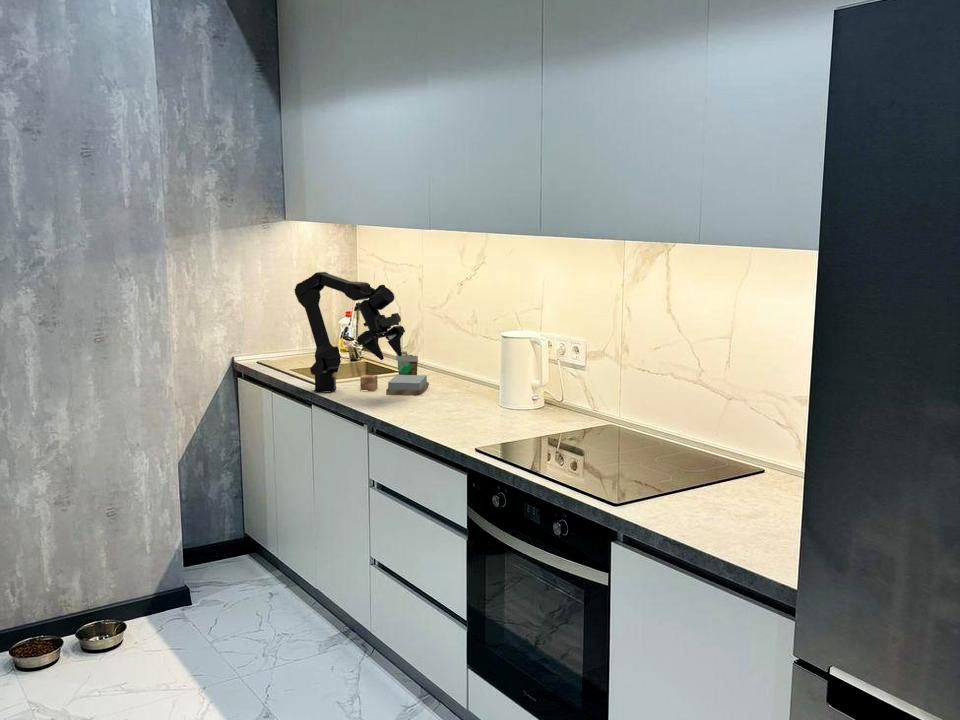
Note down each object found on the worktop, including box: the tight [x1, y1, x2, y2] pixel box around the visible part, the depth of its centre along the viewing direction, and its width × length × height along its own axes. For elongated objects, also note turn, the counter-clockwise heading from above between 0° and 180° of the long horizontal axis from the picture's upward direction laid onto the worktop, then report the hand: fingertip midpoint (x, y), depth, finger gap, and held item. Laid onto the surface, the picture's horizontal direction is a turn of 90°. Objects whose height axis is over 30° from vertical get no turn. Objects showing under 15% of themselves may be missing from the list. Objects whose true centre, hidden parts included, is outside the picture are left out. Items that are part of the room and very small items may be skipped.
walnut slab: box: [385, 381, 430, 396], centre depth 347 cm, size 12×16×2 cm
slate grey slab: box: [387, 374, 428, 390], centre depth 346 cm, size 11×15×2 cm
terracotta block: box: [359, 374, 379, 392], centre depth 348 cm, size 5×5×5 cm
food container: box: [395, 351, 419, 375], centre depth 365 cm, size 12×6×10 cm, turn 25°
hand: (391, 357), depth 326 cm, fingers open, 9 cm apart
